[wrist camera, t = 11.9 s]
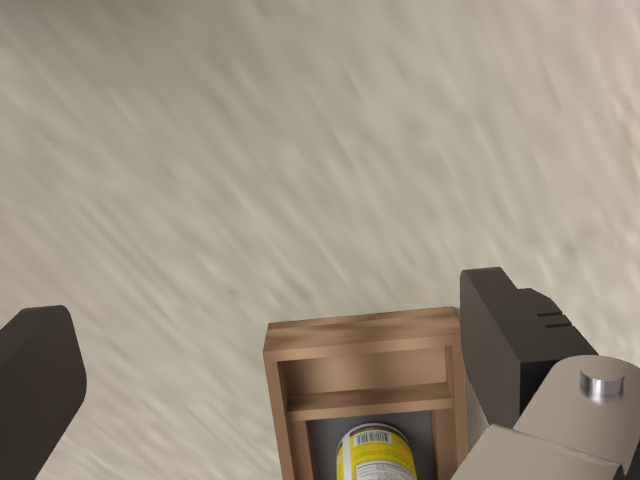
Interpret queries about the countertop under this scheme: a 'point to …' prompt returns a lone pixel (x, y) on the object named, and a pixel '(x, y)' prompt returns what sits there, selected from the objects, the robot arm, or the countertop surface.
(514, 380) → the robot arm
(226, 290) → the countertop surface
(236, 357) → the countertop surface
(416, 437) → the walnut crate
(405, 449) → the supplement bottle
